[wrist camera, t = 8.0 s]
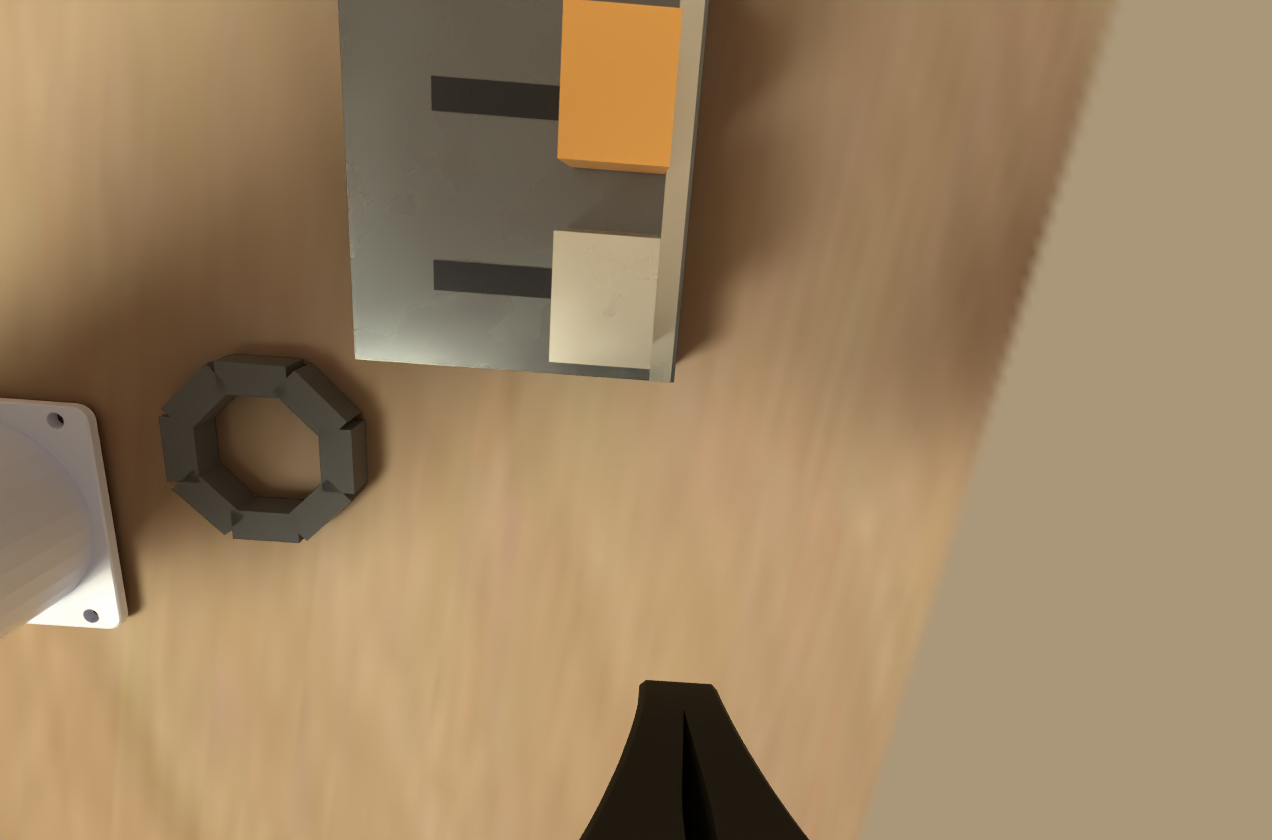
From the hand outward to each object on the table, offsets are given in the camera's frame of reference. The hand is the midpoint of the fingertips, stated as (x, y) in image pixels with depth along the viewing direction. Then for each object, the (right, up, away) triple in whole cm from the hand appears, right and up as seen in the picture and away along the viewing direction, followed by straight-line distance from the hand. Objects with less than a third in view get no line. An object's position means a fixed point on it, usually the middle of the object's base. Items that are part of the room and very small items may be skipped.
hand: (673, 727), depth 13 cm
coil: (-12, +5, +9) cm, 16 cm away
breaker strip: (-4, +14, +7) cm, 16 cm away
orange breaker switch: (-1, +14, +4) cm, 14 cm away
